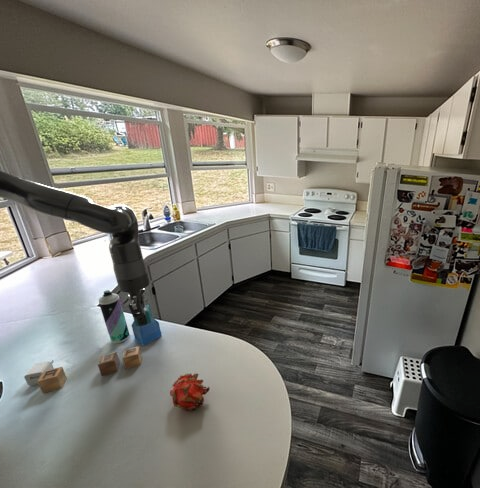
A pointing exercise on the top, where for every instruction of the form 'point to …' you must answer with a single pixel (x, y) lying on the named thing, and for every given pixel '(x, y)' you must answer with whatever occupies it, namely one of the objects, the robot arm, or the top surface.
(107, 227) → the robot arm
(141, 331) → the perfume bottle
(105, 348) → the top surface
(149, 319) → the block
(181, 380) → the dragon fruit
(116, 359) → the block
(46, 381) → the block
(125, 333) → the spray can
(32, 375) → the usb wall charger
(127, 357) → the block
